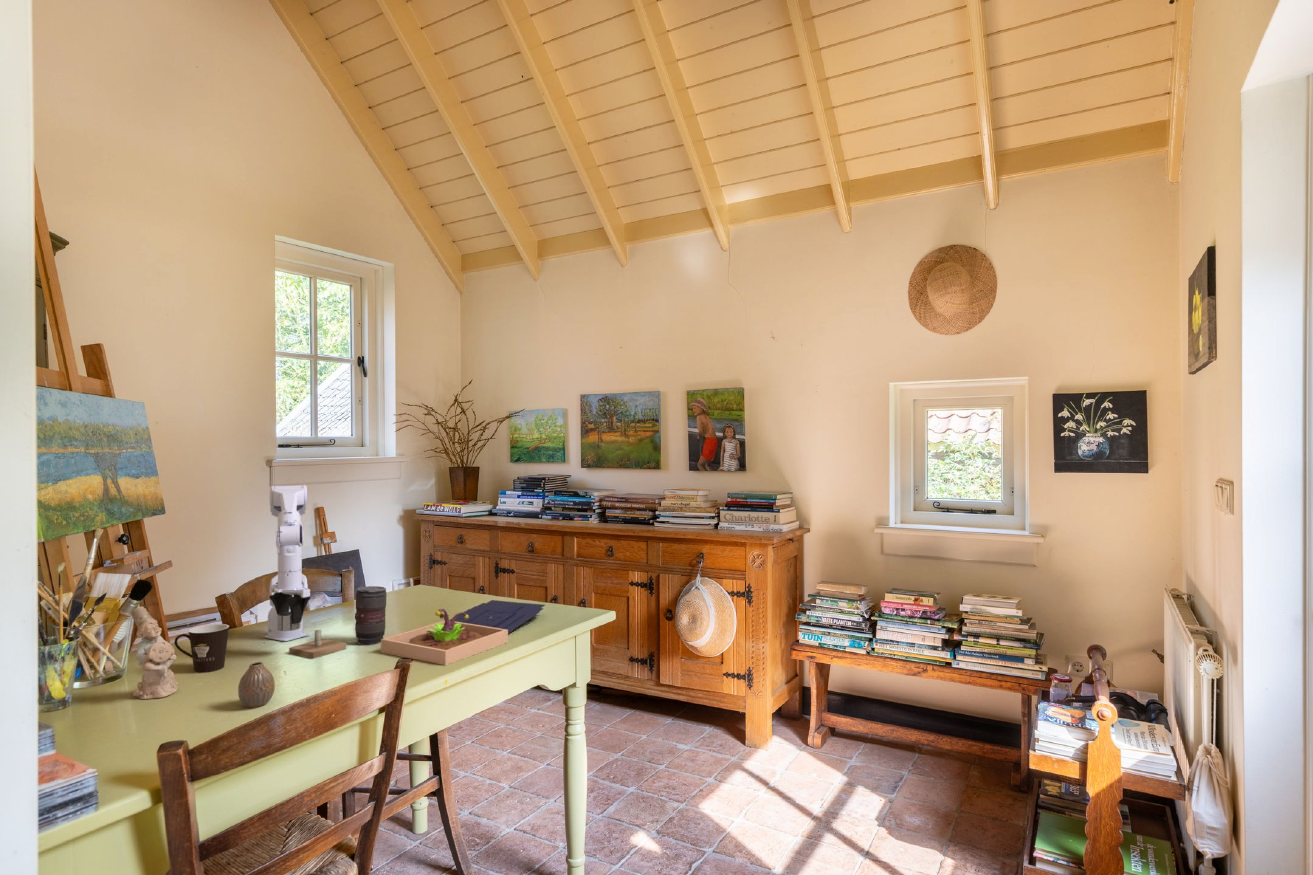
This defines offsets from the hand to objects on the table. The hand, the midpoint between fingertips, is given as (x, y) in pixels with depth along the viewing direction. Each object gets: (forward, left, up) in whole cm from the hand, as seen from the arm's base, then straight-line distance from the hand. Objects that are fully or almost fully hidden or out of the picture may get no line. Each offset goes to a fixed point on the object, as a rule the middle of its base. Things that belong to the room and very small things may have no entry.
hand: (289, 621), depth 192 cm
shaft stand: (+4, +5, -9) cm, 11 cm away
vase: (+28, -27, -9) cm, 40 cm away
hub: (0, 0, -2) cm, 2 cm away
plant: (+32, +24, -9) cm, 41 cm away
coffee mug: (-8, -18, -9) cm, 21 cm away
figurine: (+2, -34, -9) cm, 35 cm away
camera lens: (+9, +18, -9) cm, 22 cm away
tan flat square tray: (+32, +24, -9) cm, 41 cm away
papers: (+26, +50, -9) cm, 57 cm away
